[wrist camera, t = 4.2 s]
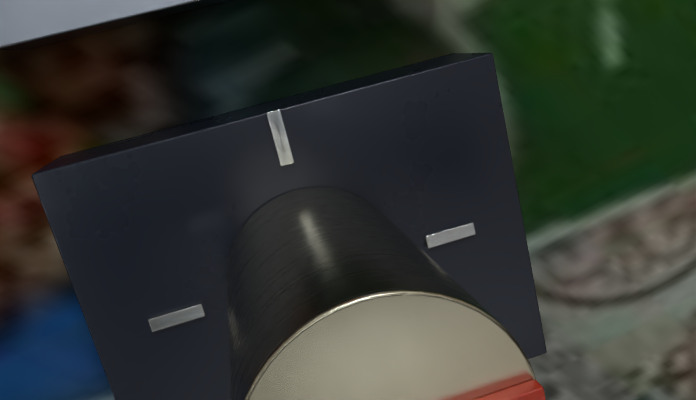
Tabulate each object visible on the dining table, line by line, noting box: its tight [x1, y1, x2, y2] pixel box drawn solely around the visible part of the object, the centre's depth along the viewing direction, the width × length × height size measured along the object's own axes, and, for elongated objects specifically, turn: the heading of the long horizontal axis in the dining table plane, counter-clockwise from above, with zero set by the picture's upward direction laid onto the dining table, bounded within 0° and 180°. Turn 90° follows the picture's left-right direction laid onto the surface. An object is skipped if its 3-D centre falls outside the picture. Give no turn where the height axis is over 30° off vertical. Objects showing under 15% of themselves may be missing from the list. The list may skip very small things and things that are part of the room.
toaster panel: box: [32, 53, 546, 400], centre depth 19 cm, size 12×9×3 cm
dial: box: [226, 187, 546, 400], centre depth 14 cm, size 5×5×8 cm
